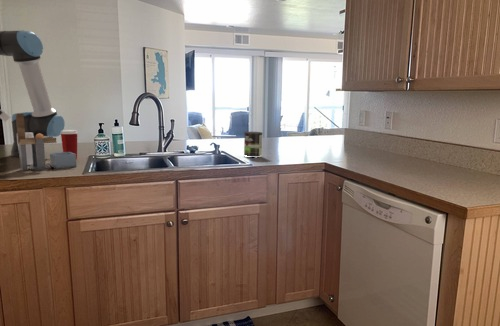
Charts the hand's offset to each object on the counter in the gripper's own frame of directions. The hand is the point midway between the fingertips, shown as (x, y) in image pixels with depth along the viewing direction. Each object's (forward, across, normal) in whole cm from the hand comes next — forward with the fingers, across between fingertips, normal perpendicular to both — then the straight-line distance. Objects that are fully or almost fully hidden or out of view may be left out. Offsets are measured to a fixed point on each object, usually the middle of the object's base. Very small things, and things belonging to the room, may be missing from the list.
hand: (7, 119), depth 156 cm
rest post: (+19, 0, -12) cm, 23 cm away
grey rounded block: (+30, 0, -1) cm, 30 cm away
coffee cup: (+37, -18, +5) cm, 41 cm away
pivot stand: (+23, 0, -8) cm, 24 cm away
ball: (+15, 0, +1) cm, 15 cm away
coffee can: (+96, +29, +65) cm, 120 cm away
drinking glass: (+22, -15, -9) cm, 28 cm away
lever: (+15, 0, 0) cm, 15 cm away
